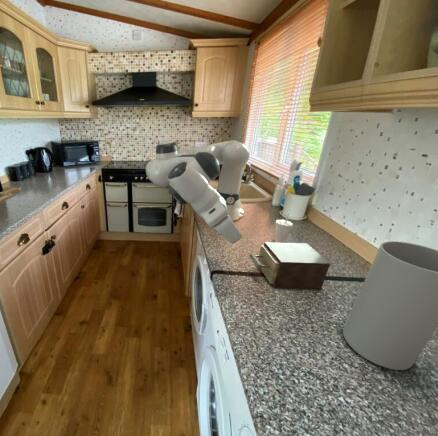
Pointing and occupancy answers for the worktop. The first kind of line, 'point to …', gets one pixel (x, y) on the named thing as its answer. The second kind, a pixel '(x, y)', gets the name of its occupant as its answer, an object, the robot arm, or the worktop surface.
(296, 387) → the worktop surface
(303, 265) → the cabinet
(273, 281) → the drawer
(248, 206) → the worktop surface
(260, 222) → the worktop surface
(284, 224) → the smoothie
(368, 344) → the cylinder vase
